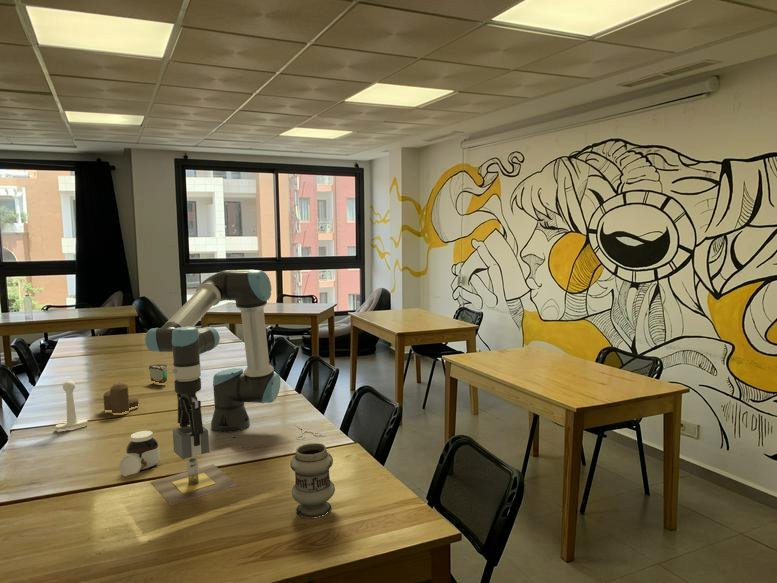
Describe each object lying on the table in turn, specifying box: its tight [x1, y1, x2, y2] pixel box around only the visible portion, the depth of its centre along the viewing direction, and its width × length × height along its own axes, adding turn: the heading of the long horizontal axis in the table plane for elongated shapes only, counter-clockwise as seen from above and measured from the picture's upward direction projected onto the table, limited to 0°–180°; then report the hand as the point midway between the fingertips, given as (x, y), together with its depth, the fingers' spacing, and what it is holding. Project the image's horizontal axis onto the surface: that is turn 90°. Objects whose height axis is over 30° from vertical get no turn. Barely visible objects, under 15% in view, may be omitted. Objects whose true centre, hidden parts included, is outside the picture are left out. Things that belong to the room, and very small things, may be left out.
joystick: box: [55, 380, 89, 431], centre depth 223 cm, size 11×8×20 cm
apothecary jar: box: [289, 442, 336, 519], centre depth 152 cm, size 12×12×18 cm
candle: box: [103, 380, 139, 414], centre depth 243 cm, size 14×14×15 cm
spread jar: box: [118, 430, 160, 477], centre depth 181 cm, size 12×11×12 cm
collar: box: [172, 425, 210, 460], centre depth 166 cm, size 8×8×7 cm
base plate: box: [150, 463, 239, 507], centre depth 168 cm, size 20×20×2 cm
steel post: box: [186, 457, 199, 485], centre depth 167 cm, size 3×3×8 cm
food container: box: [148, 363, 169, 383], centre depth 288 cm, size 12×6×10 cm, turn 58°
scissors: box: [296, 428, 326, 441], centre depth 215 cm, size 11×1×20 cm
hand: (191, 451), depth 166 cm, fingers closed on collar, 8 cm apart
